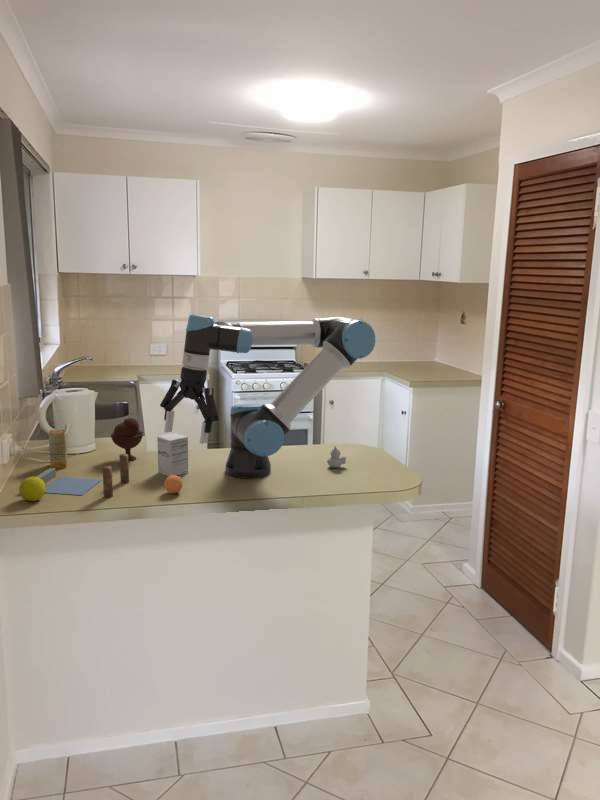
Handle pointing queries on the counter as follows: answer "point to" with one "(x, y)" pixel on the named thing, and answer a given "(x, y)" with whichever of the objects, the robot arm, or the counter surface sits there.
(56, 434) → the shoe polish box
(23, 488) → the tennis ball
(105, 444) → the counter surface
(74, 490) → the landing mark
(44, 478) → the blue-grey rod
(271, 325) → the robot arm
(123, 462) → the right post
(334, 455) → the grey figurine
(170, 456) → the supplement box
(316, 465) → the counter surface
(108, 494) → the left post
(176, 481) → the ball
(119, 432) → the ice cream bowl
